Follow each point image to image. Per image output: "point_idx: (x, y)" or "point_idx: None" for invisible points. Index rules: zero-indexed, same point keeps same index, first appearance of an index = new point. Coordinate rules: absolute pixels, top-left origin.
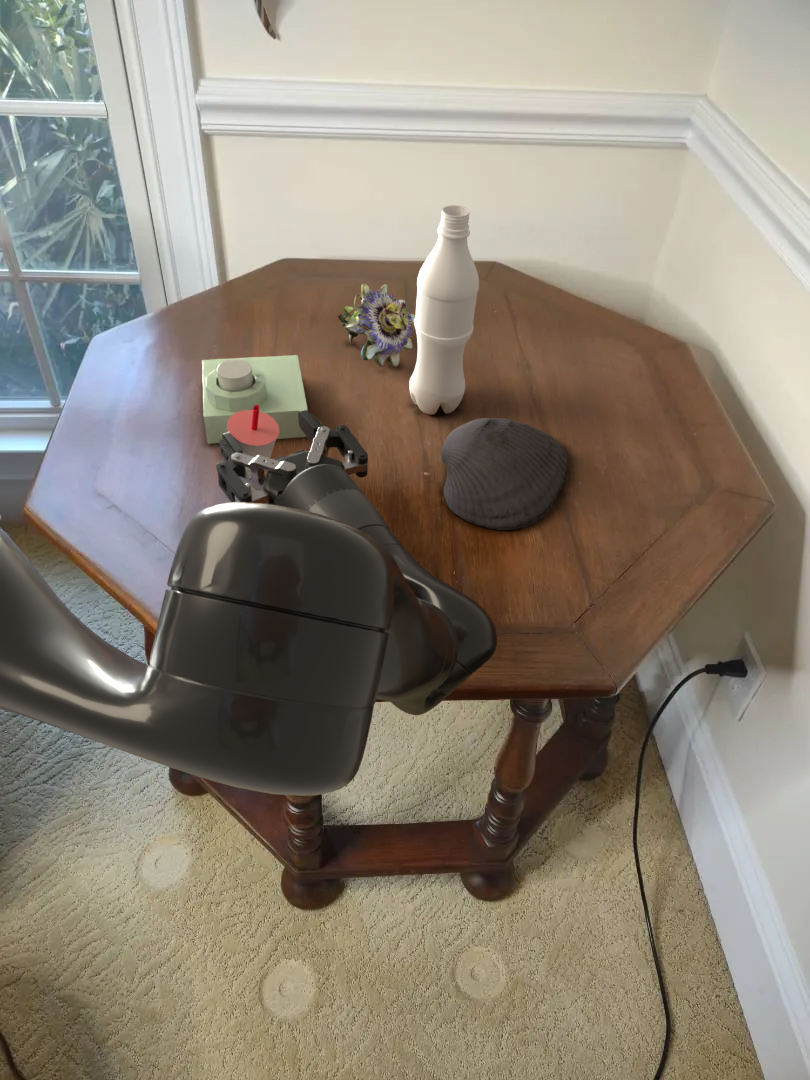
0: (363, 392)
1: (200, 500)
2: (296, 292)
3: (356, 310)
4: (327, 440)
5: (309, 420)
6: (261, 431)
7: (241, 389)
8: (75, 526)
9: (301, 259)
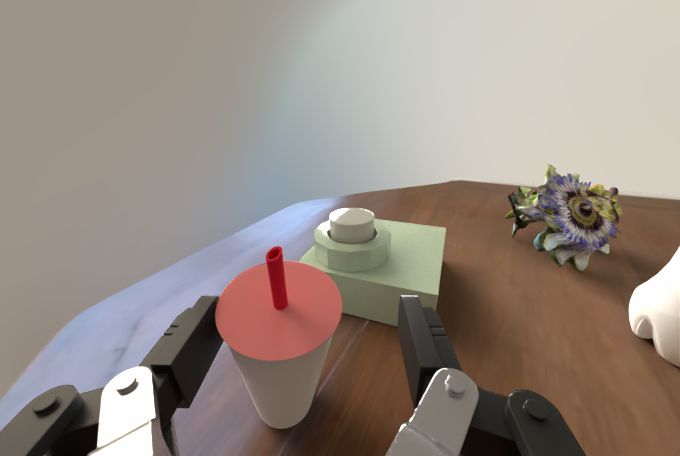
0: (530, 292)
1: (210, 393)
2: (461, 196)
3: (532, 195)
4: (461, 449)
5: (417, 329)
6: (290, 317)
7: (351, 242)
8: (53, 363)
9: (470, 181)
